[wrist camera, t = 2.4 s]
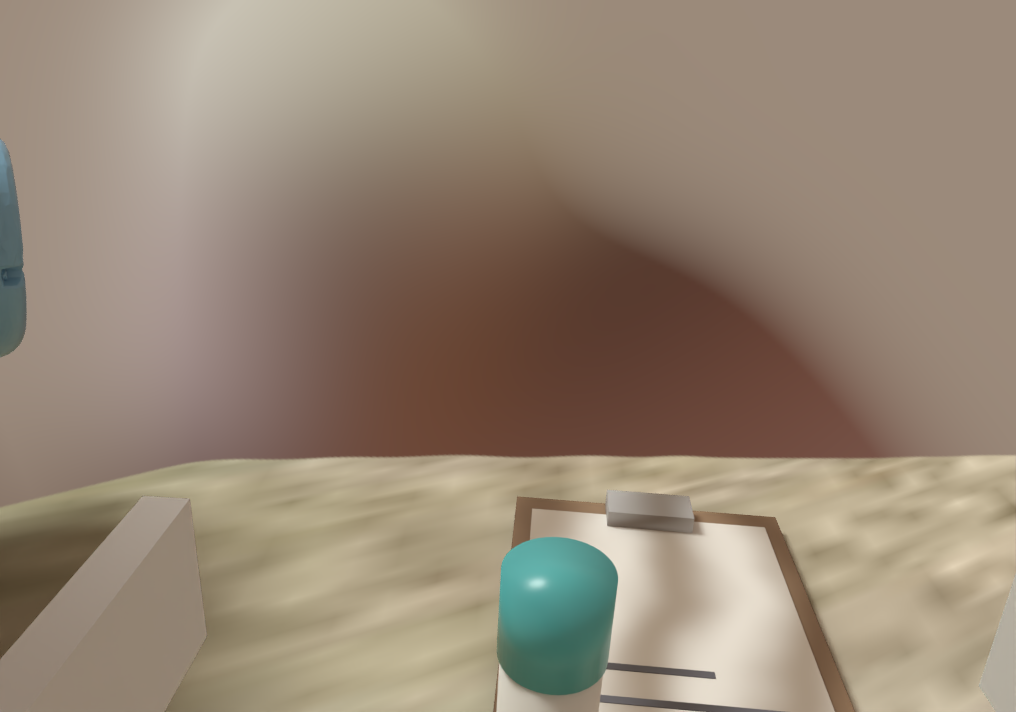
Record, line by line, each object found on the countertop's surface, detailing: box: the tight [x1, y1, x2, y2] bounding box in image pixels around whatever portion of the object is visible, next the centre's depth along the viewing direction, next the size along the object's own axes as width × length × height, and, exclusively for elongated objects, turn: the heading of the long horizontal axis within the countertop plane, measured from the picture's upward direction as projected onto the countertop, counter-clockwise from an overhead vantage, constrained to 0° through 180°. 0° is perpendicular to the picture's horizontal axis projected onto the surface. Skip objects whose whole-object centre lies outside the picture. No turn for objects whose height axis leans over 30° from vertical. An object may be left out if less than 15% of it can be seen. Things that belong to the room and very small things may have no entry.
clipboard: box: [493, 490, 855, 712], centre depth 41 cm, size 16×20×2 cm
